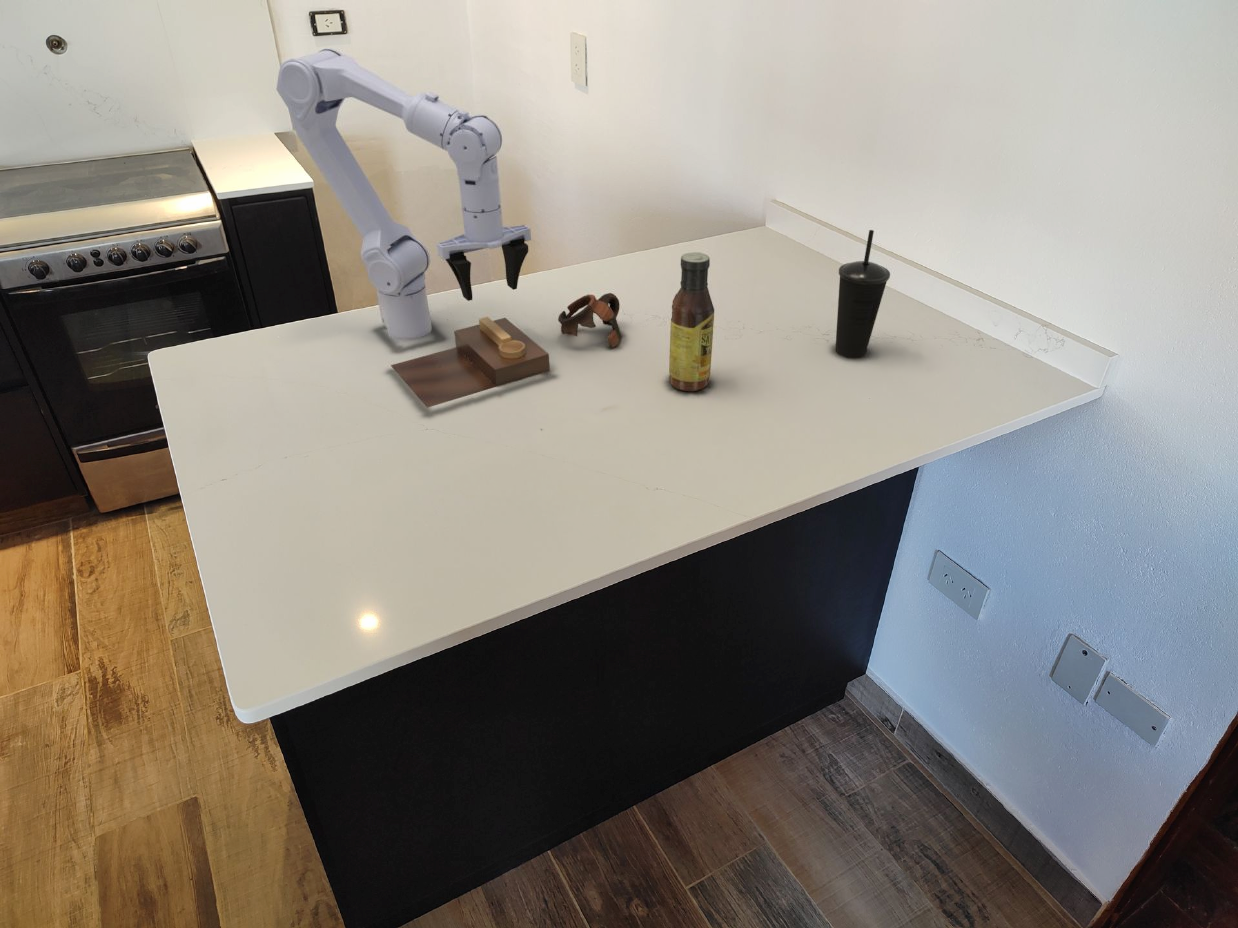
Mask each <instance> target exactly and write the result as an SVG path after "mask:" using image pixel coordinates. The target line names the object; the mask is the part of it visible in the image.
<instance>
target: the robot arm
mask: <svg viewBox="0 0 1238 928" xmlns="http://www.w3.org/2000/svg"><path fill="white" fill-rule="evenodd" d="M276 92H277V93H278V95H279V96H280V97H281V99H282V101H283V102H284V104H285V106H286V107H287V109H288V112H289V115H290V120H291V123H292V126H293V129H294V131H295V133H296V135H297V137H298V138H299V140H300V142H301V143H302V145H303V146H304V148H305V149H306V152H308V154H309V156H310V158H311V160H313V162H314V164H315V165H316V167H317V168H318V170H319V171H320V173H321V174H322V177H323V178H324V179H325V181H326V183H327V184H328V186H329V187H330V189H331V190H332V192H333V194H334V195H335V196H336V198H337V200H338V202H339V204H341V206H342V209H344V211H345V213H346V215H347V216H348V218H349V219H350V220H351V222H352V224H353V225H354V227H355V229H356V230H357V232H358V233H359V234H360V236H361V238H362V243H361V249H360V254H359V255H360V259H361V261H362V262H363V264H364V265H365V268H366V272H367V276H368V280H369V281H370V283H371V285H372V286H373V287H374V288H375V289H376V290H377V291H376V296H377V302H378V309H379V313H380V319H381V324H382V325H383V326H384V327H385V328H386V329H387V334H388V336H389V337H390V338H393V339H395V340H401V341H411V340H416V339H421V338H423V337H425V336H427V335H428V334H430V333H431V331H432V329H433V327H432V322H431V321H432V320H431V315H430V307H429V300H428V299H429V298H428V293H427V287H426V279H427V278H426V272H427V271H428V269H429V267H430V265H431V255H430V253H429V250H428V248H427V247H426V246H425V244H424V243H423V242H421V241H420V240H419V239H418V238H416V236H415V235H414V234H413V233H412V231H411V230H410V228H409V227H408V226H405V225H403V224H401V223H398V222H396V221H394V220H393V217H392V216H391V214H390V213H389V211H388V209H387V207H386V206H385V204H384V203H383V201H382V200H381V198H380V196H379V194H378V193H377V192H376V190H375V188H374V187H373V185H372V184H371V182H370V180H369V179H368V177H367V175H366V174H365V172H364V170H363V168H362V167H361V165H360V164H359V162H358V161H357V159H356V157H355V156H354V154H353V153H352V150H351V149H350V148H349V146H348V144H347V143H346V141H345V139H344V138H343V136H342V134H341V133H340V131H339V129H338V128H337V126H336V124H337V121H338V115H339V111H340V108H341V106H342V105H343V103H344V101H345V99H347V98H349V99H350V98H354V99H356V100H358V101H360V102H363V103H365V104H368V105H369V106H372V107H374V108H376V109H378V110H381V111H383V112H385V113H388V114H390V115H392V116H394V117H397V118H399V119H402V121H403V124H404V126H405V128H406V130H407V132H409V133H411V134H412V135H414V136H416V137H418V138H420V139H422V140H424V141H425V142H429V143H430V144H432V145H434V146H436V147H438V148H439V149H442V150H444V151H446V152H447V153H448V155H449V157H450V159H451V160H452V162H453V163H454V165H455V167H456V173H457V176H458V184H459V192H460V202H461V211H462V219H463V221H462V222H463V227H464V228H463V229H464V233H462V234H460V235H457V236H455V237H452V238H450V239H447V240H444V241H441V242H436V249H437V255H438V256H439V258H441V259H442V260H445V262H446V263H447V264H448V266H449V268H450V269H451V271H452V272H453V274H454V276H455V279H456V280H457V283H458V285H459V288H460V291H461V294H462V297H463V299H465V300H466V301H467V302H470V301H473V288H472V283H471V271H472V269H471V268H472V262H471V261H469V259H467V256H466V255H465V254H467V253H472V252H476V251H481V250H485V249H490V250H493V249H497V248H501V250H502V254H503V259H504V266H505V280H506V285H507V286H508V288H510V289H512V290H513V291H514V290H517V289H518V285H519V284H518V282H519V278H520V272H521V270H522V266H523V263H524V261H525V259H526V256H527V255H528V253H529V244H527V243H526V242H529V241H532V234H531V228H530V227H529V226H528V225H526V224H520V225H513V226H511V225H510V226H504V223H503V214H502V213H503V212H502V201H501V200H502V199H501V189H500V178H499V177H500V176H499V168H498V157H497V154H498V153H499V152H500V150H501V148H502V145H503V144H502V143H503V136H502V132H501V129H500V128H499V126H498V124H497V123H496V122H495V121H494V120H492V119H491V118H489V117H488V116H487V115H485V114H476V115H473V116H470V115H469V112H468V111H467V110H465V109H461V110H459V109H458V108H455V107H453V106H451V105H450V104H448V103H445V102H444V101H441V100H440V99H439V98H440V96H439V94H436V93H434V92H433V91H430V92H427V93H426V92H419V93H416V94H415V95H411V94H409V93H408V92H406V91H404V90H403V89H401V88H399V87H397V86H396V85H394V84H393V83H390V82H389V81H388V80H385V79H384V78H382V77H380V76H379V75H377V74H375V73H374V72H372V71H370V70H368V69H367V68H365V67H363V66H361V65H360V64H359V63H358V62H357V61H356V60H355V58H354V57H353V56H350V55H346V54H343V53H341V52H340V51H338V50H336V49H334V48H331V47H330V48H328V47H326V48H323V49H321V50H318V51H317V52H314V53H310V54H307V55H303V56H300V57H297V58H289V59H287V60H285V61H283V63H282V64H281V65H280V67H279V70H278V76H277V83H276Z"/></svg>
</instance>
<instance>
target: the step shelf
mask: <svg viewBox="0 0 1238 928" xmlns="http://www.w3.org/2000/svg"><path fill="white" fill-rule="evenodd" d="M492 321H493V322H494V323H496V324H497V325H498V326H499V327H500V328H501V329H503V330H504V331H505V332H506V333H507V334H508V335H510V336H511V340H516V341H521V342H523V343H524V344H525V351H526V352H525V354H524V355H523V356H522V357H519V358H515V359H507V358H503V357H501V356H500V354H499V346H498V345H497V344H496V343H495V342H494V341H493V340H492V339H491V338H489V337H488V336H487V335H486V334H485V333H484V332H483V331H482V330H481V329H480V326H479V324H475V325H472V326H468V327H464V328H460V329H456V330H454V331H453V334H454V340H455V341H454V342H455V347H453V348H448V349H445V350H441V351H438V352H437V351H436V352H434V353H431V354H426V355H423V356H419V357H415V358H412V359H408V360H404V361H400V362H398V363H393V364H391V365H390V367H391V368H392V369H393V370H394V371H395V373H396V374H397V375H398V376H399V377H400V378H401V380H402V381H403V382H404V383H405V384H406V385H407V386H408V387H409V388H410V390H411V391H412V392H413V394H414V395H415V396H416V397H417V398H418V399H419V400H420V401H421V403H422V404H423V406H425V407H426V408H427V409H428V408H432V407H434V406H438V405H441V404H444V403H447V402H452V401H455V400H457V399H458V400H459V399H461V398H464V397H467V396H470V395H474V394H478V393H481V392H484V391H488V390H491V389H494V388H498V387H501V386H504V385H507V384H511V383H514V382H517V381H521V380H524V379H527V378H531V377H534V376H537V375H540V374H544V373H547V372H551V370H550V369H551V368H550V354H549V352H547V351H546V350H545V349H543V348H542V347H541V346H540V345H539V344H537V343H536V342H535V341H534V340H533V339H531V338H530V337H529V336H528V335H527V334H526V333H524V332H523V331H522V330H521V329H519V328H518V327H517V326H516V325H515V324H513V322H511V321H510V320H509V319H507V318H506V317H502V318H498V319H495V320H492Z"/></svg>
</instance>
